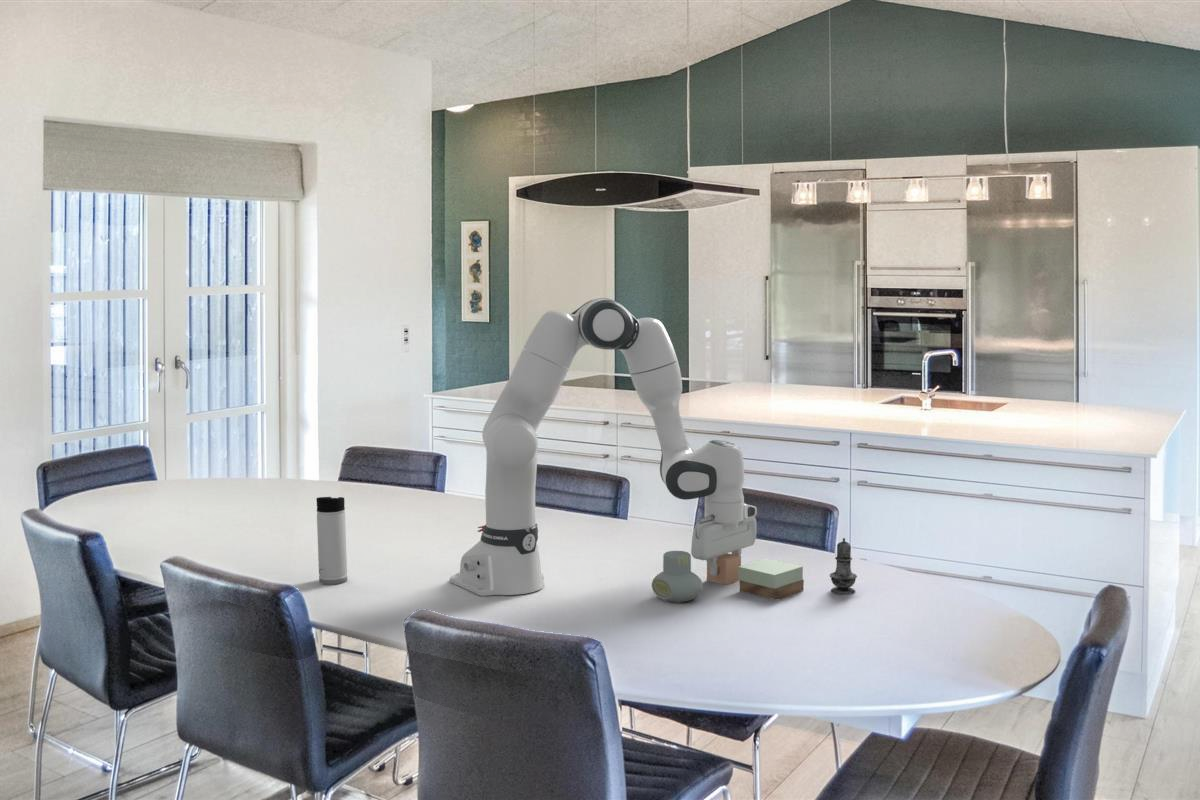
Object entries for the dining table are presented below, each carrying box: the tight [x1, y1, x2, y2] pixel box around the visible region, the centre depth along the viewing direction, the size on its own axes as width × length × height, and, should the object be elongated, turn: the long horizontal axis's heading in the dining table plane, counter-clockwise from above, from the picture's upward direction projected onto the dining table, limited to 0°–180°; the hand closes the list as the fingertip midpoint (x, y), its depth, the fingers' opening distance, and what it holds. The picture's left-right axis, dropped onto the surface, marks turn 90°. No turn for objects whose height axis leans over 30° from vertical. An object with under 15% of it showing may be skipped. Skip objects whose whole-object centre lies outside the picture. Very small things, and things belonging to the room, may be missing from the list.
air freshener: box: [651, 550, 704, 604], centre depth 248 cm, size 11×8×10 cm
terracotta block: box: [706, 553, 742, 586], centre depth 263 cm, size 6×6×6 cm
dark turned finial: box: [829, 537, 858, 596], centre depth 253 cm, size 6×6×12 cm
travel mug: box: [316, 496, 348, 586], centre depth 263 cm, size 6×7×20 cm
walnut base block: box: [739, 579, 805, 601], centre depth 254 cm, size 10×10×3 cm
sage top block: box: [738, 558, 804, 589], centre depth 254 cm, size 10×10×3 cm
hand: (723, 571), depth 263 cm, fingers closed on terracotta block, 5 cm apart
